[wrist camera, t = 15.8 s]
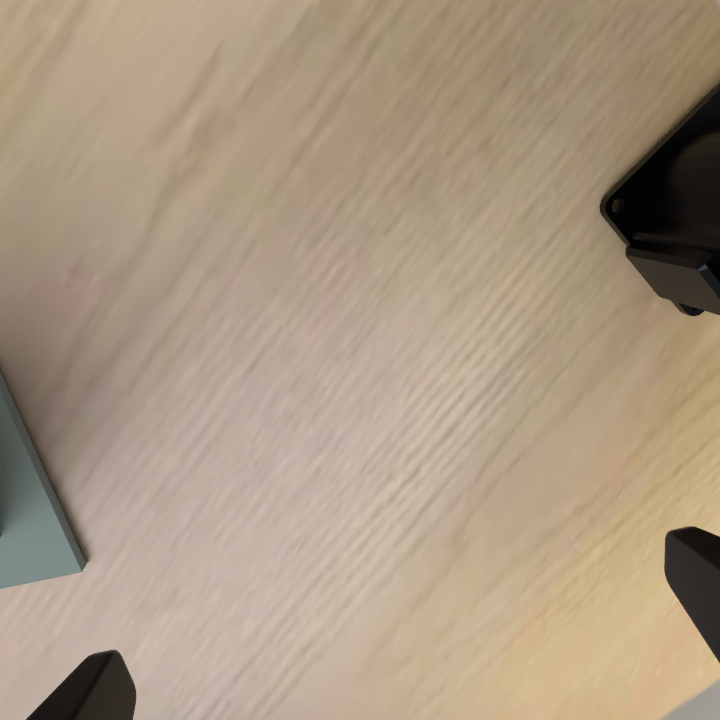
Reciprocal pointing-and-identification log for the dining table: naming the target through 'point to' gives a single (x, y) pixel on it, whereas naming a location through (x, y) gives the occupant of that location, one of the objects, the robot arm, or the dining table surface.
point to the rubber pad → (29, 509)
